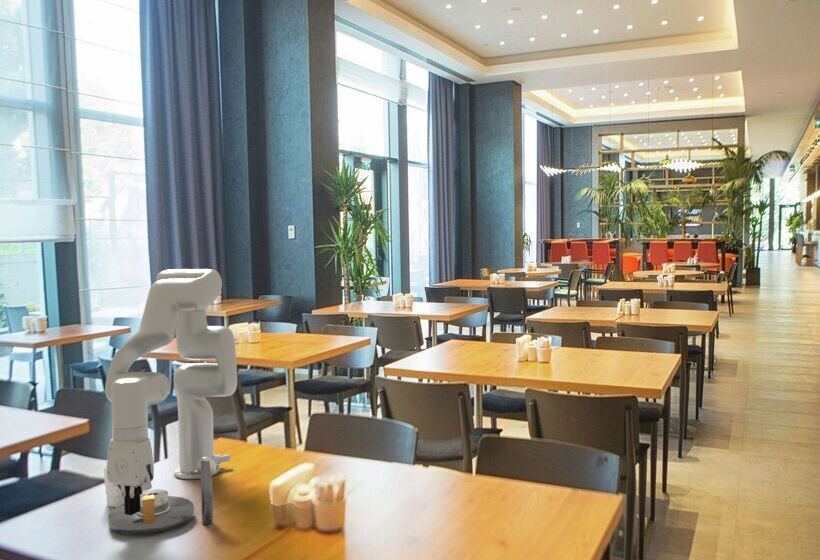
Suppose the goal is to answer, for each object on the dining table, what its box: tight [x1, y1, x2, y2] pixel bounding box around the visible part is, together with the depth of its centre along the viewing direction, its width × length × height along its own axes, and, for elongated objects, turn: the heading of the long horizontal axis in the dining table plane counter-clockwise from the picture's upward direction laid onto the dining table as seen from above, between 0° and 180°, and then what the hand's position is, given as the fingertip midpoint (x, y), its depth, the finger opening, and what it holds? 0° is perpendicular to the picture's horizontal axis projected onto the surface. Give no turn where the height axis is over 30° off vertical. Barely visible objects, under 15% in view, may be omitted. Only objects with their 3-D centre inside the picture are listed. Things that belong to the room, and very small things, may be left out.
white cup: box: [103, 463, 124, 508], centre depth 182 cm, size 8×8×10 cm
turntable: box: [107, 495, 195, 535], centre depth 169 cm, size 19×19×7 cm
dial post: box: [190, 457, 216, 526], centre depth 168 cm, size 6×2×16 cm, turn 86°
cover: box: [136, 488, 170, 517], centre depth 168 cm, size 8×8×4 cm
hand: (132, 512), depth 163 cm, fingers closed
